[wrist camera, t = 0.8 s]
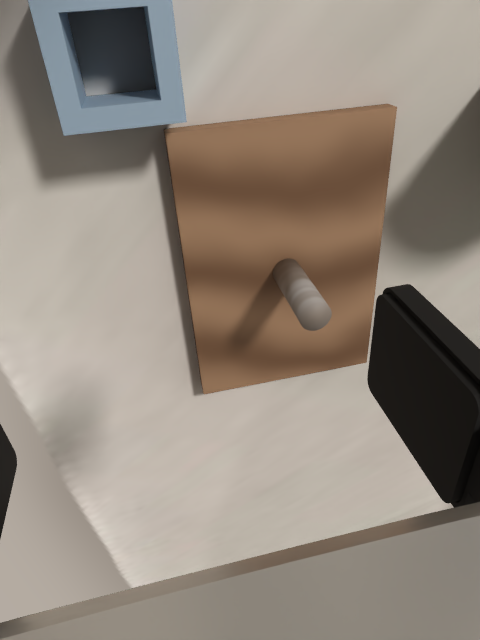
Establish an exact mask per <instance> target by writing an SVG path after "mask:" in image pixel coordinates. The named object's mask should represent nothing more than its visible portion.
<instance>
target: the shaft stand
mask: <svg viewBox="0 0 480 640" xmlns="http://www.w3.org/2000/svg"><path fill="white" fill-rule="evenodd" d="M396 111H397V107H395V106H393V105H390V104H382V105H373V106H364V107H355V108H346V109H337V110H329V111H320V112H311V113H302V114H293V115H284V116H275V117H266V118H258V119H249V120H240V121H231V122H222V123H213V124H204V125H196V126H187V127H178V128H169V129H164V134H165V140H166V147H167V154H168V161H169V167H170V174H171V181H172V188H173V194H174V201H175V208H176V215H177V221H178V228H179V235H180V242H181V248H182V255H183V262H184V269H185V275H186V282H187V289H188V296H189V302H190V309H191V316H192V323H193V329H194V336H195V343H196V350H197V356H198V363H199V370H200V377H201V383H202V388H203V393H204V394H208V393H213V392H218V391H223V390H228V389H233V388H239V387H244V386H249V385H254V384H259V383H264V382H269V381H274V380H279V379H285V378H290V377H295V376H300V375H305V374H310V373H315V372H320V371H325V370H331V369H336V368H341V367H346V366H351V365H356V364H361V363H366V362H367V354H368V346H369V337H370V329H371V320H372V312H373V304H374V295H375V287H376V279H377V270H378V262H379V253H380V245H381V237H382V228H383V220H384V212H385V203H386V195H387V186H388V178H389V170H390V161H391V153H392V145H393V136H394V128H395V119H396Z"/></svg>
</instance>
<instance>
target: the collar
mask: <svg viewBox="0 0 480 640" xmlns="http://www.w3.org/2000/svg"><path fill="white" fill-rule="evenodd" d="M28 3H29V7H30V11H31V14H32V18H33V22H34V26H35V29H36V33H37V37H38V41H39V44H40V48H41V52H42V56H43V59H44V63H45V67H46V71H47V75H48V78H49V82H50V86H51V90H52V93H53V97H54V101H55V105H56V108H57V112H58V116H59V120H60V123H61V127H62V131H63V135H64V136H66V135H75V134H84V133H93V132H102V131H111V130H120V129H129V128H138V127H147V126H156V125H165V124H174V123H183V122H187V121H186V112H185V104H184V96H183V88H182V79H181V71H180V63H179V54H178V46H177V38H176V30H175V21H174V13H173V5H172V0H28ZM136 7H144V12H145V19H146V25H147V32H148V39H149V45H150V52H151V59H152V65H153V72H154V79H155V85H156V89H155V90H145V91H135V92H125V93H115V94H105V95H95V96H86V93H85V89H84V84H83V80H82V75H81V71H80V67H79V62H78V58H77V54H76V49H75V45H74V41H73V36H72V32H71V27H70V23H69V19H68V14H67V13H69V12H83V11H96V10H109V9H123V8H136Z"/></svg>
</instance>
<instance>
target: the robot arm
mask: <svg viewBox="0 0 480 640" xmlns="http://www.w3.org/2000/svg"><path fill="white" fill-rule="evenodd" d="M368 385H369V389H370V391H371V393H372V394H373V396H374V397H375V399H376V400H377V402H378V404H379V405H380V407H381V408H382V410H383V411H384V413H385V414H386V416H387V417H388V419H389V420H390V422H391V423H392V425H393V426H394V428H395V429H396V431H397V432H398V434H399V435H400V437H401V438H402V440H403V441H404V443H405V445H406V446H407V448H408V449H409V451H410V452H411V454H412V455H413V457H414V458H415V460H416V461H417V463H418V464H419V466H420V467H421V469H422V470H423V472H424V473H425V475H426V476H427V478H428V479H429V481H430V482H431V484H432V486H433V487H434V489H435V490H436V492H437V493H438V495H439V496H440V498H441V499H442V500H443V501H444V502H445V503H451V504H452V505H453V507H454V508H451V509H447V510H442V511H438V512H434V513H429V514H425V515H421V516H417V517H413V518H409V519H405V520H401V521H397V522H393V523H389V524H385V525H381V526H377V527H373V528H369V529H365V530H360V531H356V532H352V533H348V534H344V535H340V536H336V537H332V538H328V539H324V540H320V541H316V542H312V543H308V544H304V545H300V546H296V547H292V548H288V549H285V550H281V551H277V552H273V553H269V554H265V555H261V556H257V557H253V558H249V559H245V560H241V561H237V562H233V563H229V564H225V565H221V566H217V567H214V568H210V569H206V570H202V571H198V572H194V573H190V574H186V575H182V576H178V577H174V578H170V579H166V580H163V581H159V582H155V583H151V584H147V585H143V586H139V587H136V588H132V589H128V590H124V591H120V592H117V593H112V594H109V595H105V596H101V597H97V598H93V599H89V600H86V601H82V602H78V603H74V604H70V605H66V606H63V607H59V608H55V609H51V610H47V611H43V612H39V613H36V614H32V615H28V616H24V617H20V618H17V619H13V620H9V621H6V622H2V623H0V640H480V349H479V348H478V347H477V346H476V345H475V344H474V343H473V342H472V341H470V340H469V339H468V338H467V337H466V336H465V335H464V334H463V333H462V332H461V331H460V330H459V329H458V328H457V327H456V326H454V325H453V324H452V323H451V322H450V321H449V320H448V319H447V318H446V317H445V316H444V315H443V314H442V313H441V312H440V311H439V310H437V309H436V308H435V307H434V306H433V305H432V304H431V303H430V302H429V301H428V300H427V299H426V298H425V297H424V296H423V295H421V294H420V293H419V292H418V291H417V290H416V289H415V288H414V287H413V286H411V285H410V284H406V285H401V286H395V287H390V288H386V289H385V290H384V291H383V294H382V295H379V296H378V298H377V301H376V309H375V318H374V327H373V335H372V344H371V352H370V361H369V370H368ZM16 467H17V458H16V454H15V451H14V449H13V447H12V445H11V443H10V441H9V439H8V437H7V436H6V434H5V432H4V430H3V428H2V426H1V424H0V538H1V533H2V529H3V524H4V520H5V516H6V511H7V507H8V503H9V498H10V494H11V490H12V485H13V481H14V476H15V472H16Z"/></svg>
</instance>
